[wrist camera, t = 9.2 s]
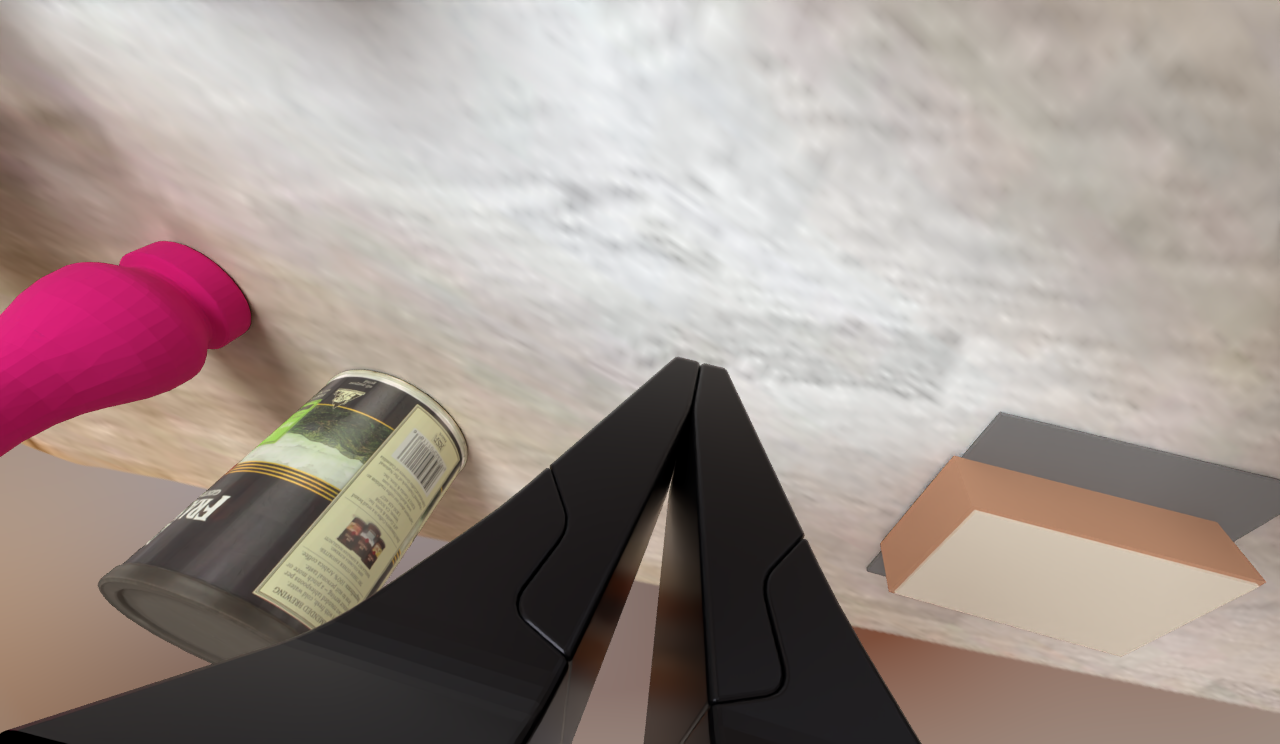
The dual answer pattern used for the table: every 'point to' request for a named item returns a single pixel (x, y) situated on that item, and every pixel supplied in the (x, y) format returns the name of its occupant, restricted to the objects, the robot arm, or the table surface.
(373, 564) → the coffee can
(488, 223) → the table surface
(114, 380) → the pepper mill
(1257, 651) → the table surface
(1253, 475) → the placemat
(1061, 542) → the beige rectangular block
